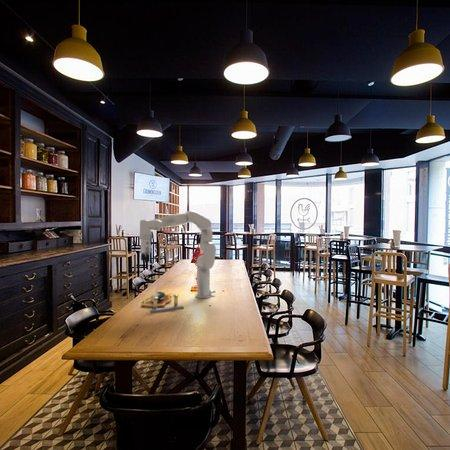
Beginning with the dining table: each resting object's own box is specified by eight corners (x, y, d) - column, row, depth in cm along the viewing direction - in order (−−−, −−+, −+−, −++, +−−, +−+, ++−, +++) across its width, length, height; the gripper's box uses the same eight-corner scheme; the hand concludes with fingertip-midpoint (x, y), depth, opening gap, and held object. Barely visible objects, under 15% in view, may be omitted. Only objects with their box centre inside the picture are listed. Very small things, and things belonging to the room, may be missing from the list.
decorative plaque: (148, 287, 238) (174, 287, 238) (148, 296, 238) (174, 297, 238) (137, 297, 208) (166, 298, 207) (137, 308, 208) (166, 308, 208)
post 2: (177, 306, 211) (177, 294, 211) (179, 308, 208) (179, 295, 208) (172, 307, 210) (172, 294, 209) (174, 308, 206) (174, 296, 206)
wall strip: (182, 307, 210) (182, 305, 210) (183, 308, 207) (183, 306, 207) (149, 312, 199) (149, 309, 199) (150, 313, 197) (150, 311, 197)
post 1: (157, 309, 205) (157, 296, 204) (158, 311, 201) (158, 297, 201) (151, 310, 203) (151, 297, 203) (153, 311, 200) (153, 298, 199)
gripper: (154, 237, 214) (154, 262, 215) (147, 236, 229) (147, 259, 230) (143, 238, 211) (143, 263, 211) (136, 236, 226) (136, 260, 226)
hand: (145, 261), depth 220 cm, fingers open, 9 cm apart
